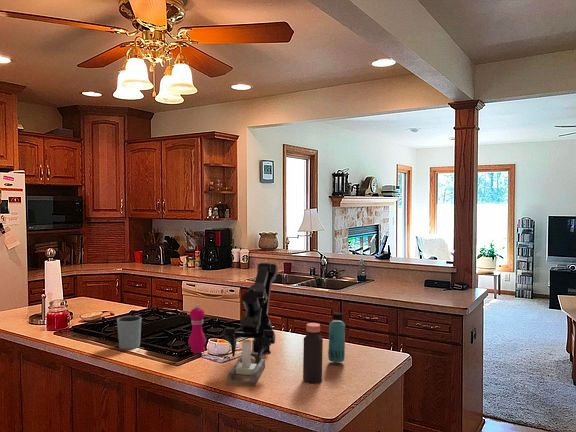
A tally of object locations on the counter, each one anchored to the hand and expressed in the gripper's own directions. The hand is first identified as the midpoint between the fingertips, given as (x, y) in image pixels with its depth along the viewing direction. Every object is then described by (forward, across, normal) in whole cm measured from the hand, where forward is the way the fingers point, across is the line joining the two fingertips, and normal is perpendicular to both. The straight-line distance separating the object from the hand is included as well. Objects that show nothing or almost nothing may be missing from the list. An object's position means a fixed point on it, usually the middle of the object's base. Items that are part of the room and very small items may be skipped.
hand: (245, 356), depth 172 cm
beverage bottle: (-9, +32, +20) cm, 39 cm away
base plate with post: (+4, 0, +7) cm, 8 cm away
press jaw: (+3, 0, +5) cm, 6 cm away
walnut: (-2, 0, +10) cm, 10 cm away
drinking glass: (-13, -57, +24) cm, 63 cm away
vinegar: (+4, +24, +7) cm, 25 cm away
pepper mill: (-11, -26, +22) cm, 36 cm away
